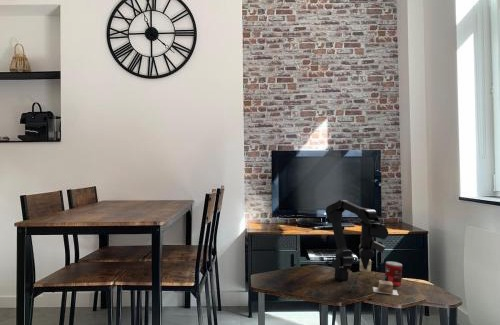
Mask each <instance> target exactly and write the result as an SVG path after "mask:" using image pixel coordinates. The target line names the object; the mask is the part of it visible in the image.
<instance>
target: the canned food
mask: <svg viewBox="0 0 500 325" xmlns="http://www.w3.org/2000/svg"><path fill="white" fill-rule="evenodd" d="M402 278H403V264H402V263H400V262H398V261H390V260H389V261H385V271H384V281H390V282H392V283H393V287H394V286H396V287H399V286H401V285H402Z"/></svg>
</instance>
